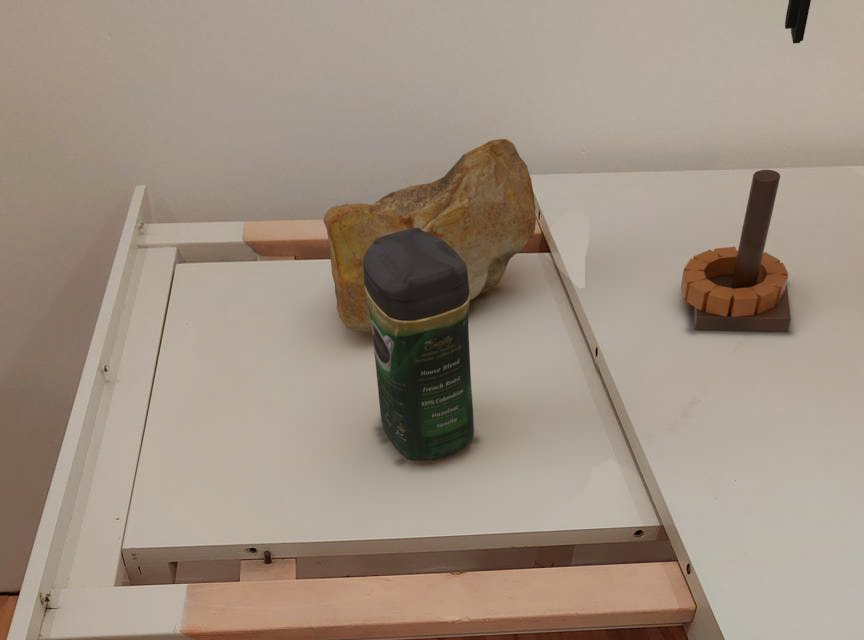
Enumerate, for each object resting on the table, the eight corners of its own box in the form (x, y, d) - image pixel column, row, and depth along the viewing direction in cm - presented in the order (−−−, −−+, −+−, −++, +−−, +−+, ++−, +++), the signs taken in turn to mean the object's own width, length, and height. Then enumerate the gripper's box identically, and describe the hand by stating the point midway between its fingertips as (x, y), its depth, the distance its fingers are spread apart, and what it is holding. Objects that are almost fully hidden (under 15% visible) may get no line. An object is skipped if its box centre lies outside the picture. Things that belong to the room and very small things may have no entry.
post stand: (782, 284, 99) (814, 152, 88) (787, 332, 93) (822, 198, 83) (694, 282, 101) (715, 154, 90) (694, 329, 95) (717, 198, 85)
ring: (769, 261, 99) (773, 243, 98) (794, 312, 93) (799, 294, 91) (673, 269, 100) (676, 251, 99) (691, 320, 94) (694, 302, 92)
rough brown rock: (483, 238, 113) (471, 104, 102) (553, 288, 102) (548, 143, 91) (307, 302, 109) (275, 169, 98) (359, 361, 98) (330, 219, 87)
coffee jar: (487, 449, 87) (483, 260, 72) (408, 475, 85) (388, 288, 71) (446, 394, 93) (435, 210, 78) (372, 417, 91) (347, 235, 77)
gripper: (1052, -273, 65) (964, 10, 78) (787, -241, 68) (746, 24, 82) (1080, -253, 60) (982, 44, 73) (795, -219, 64) (750, 57, 77)
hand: (858, 33), depth 77 cm, fingers open, 9 cm apart
